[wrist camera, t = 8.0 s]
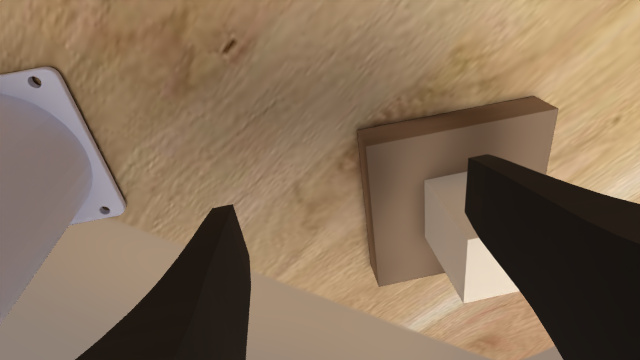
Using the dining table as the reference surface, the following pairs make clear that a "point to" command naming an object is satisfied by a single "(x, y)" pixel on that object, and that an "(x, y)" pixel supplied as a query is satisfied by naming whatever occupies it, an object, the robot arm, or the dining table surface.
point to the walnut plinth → (437, 172)
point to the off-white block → (460, 242)
